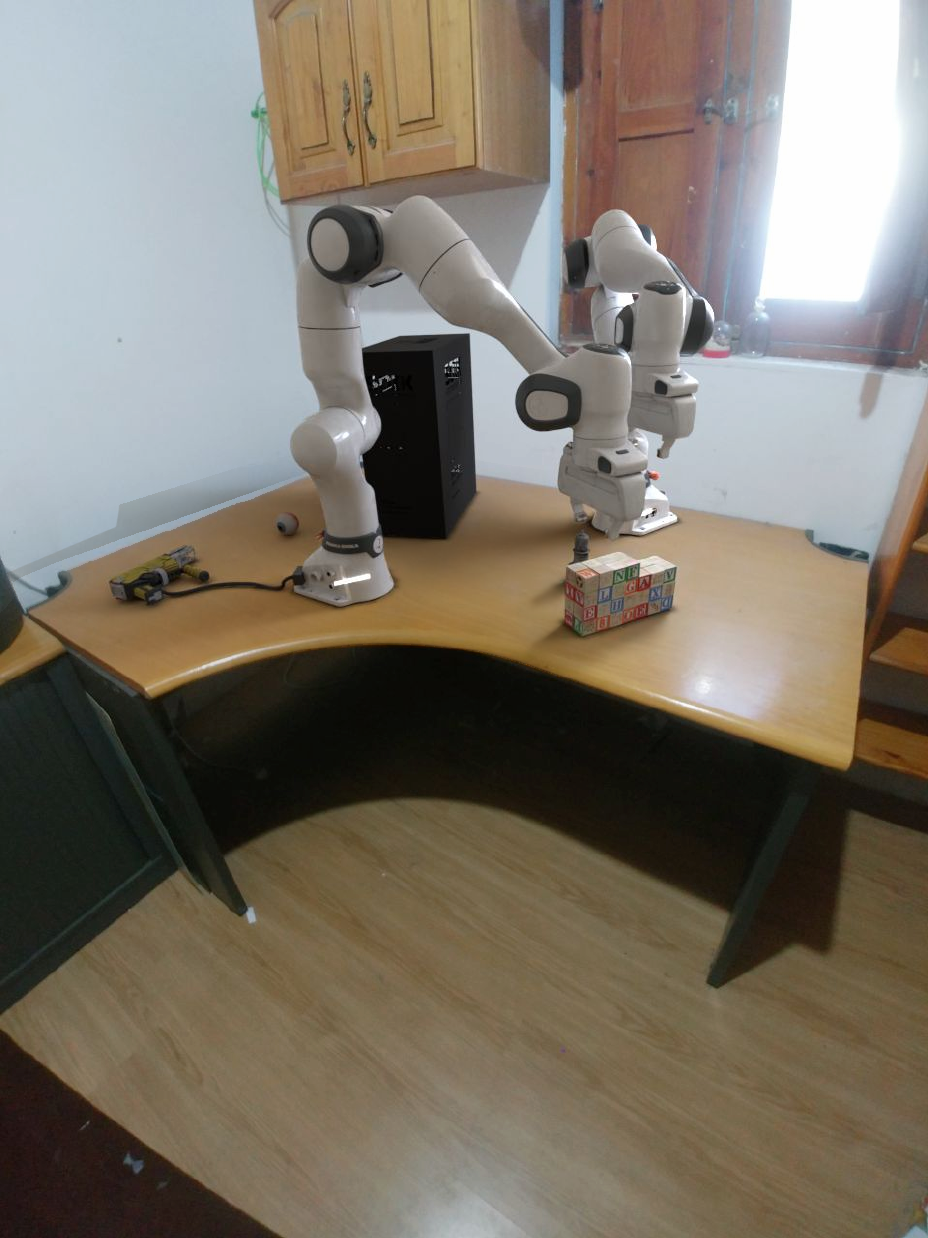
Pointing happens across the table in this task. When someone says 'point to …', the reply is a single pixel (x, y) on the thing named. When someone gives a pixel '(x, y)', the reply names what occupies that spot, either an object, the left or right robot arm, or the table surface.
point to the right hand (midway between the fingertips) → (646, 452)
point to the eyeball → (287, 523)
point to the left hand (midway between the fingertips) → (595, 530)
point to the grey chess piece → (581, 548)
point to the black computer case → (421, 433)
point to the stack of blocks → (616, 591)
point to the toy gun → (155, 576)
